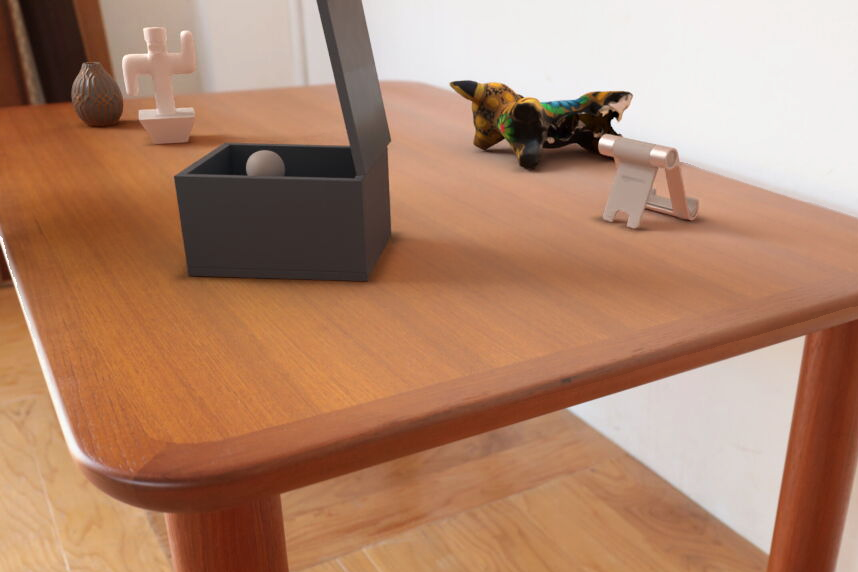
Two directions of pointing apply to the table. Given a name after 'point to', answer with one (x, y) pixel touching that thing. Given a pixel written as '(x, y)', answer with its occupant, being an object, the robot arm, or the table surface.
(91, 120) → the vase
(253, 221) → the chest
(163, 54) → the figurine
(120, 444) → the table surface
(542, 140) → the dog figurine
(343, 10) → the lid
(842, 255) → the table surface
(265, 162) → the chess piece
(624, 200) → the tablet stand
